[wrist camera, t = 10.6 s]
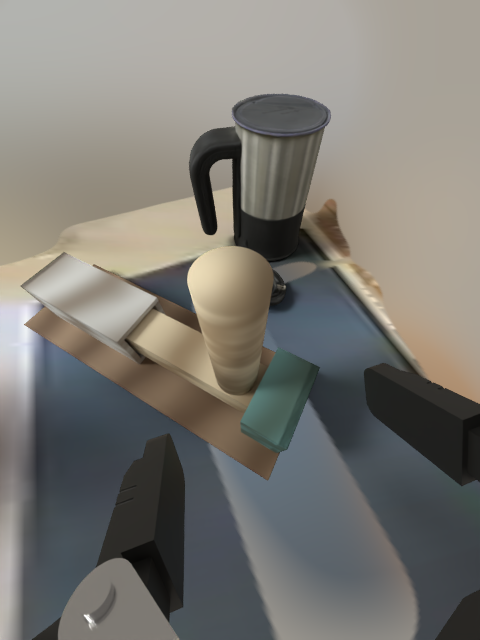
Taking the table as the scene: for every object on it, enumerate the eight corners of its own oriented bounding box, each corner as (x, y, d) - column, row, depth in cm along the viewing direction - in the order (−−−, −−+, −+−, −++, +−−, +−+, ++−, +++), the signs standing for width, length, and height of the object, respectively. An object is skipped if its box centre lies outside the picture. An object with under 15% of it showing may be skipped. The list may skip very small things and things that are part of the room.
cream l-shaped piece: (110, 336, 24) (-32, 197, 12) (133, 311, 26) (29, 164, 13) (273, 430, 20) (327, 367, 7) (289, 393, 21) (358, 287, 9)
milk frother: (278, 212, 38) (296, 85, 25) (342, 281, 31) (412, 151, 18) (193, 240, 35) (165, 111, 22) (242, 325, 28) (241, 205, 15)
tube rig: (34, 331, 27) (-24, 293, 21) (100, 272, 32) (67, 227, 26) (266, 479, 20) (276, 485, 14) (309, 375, 24) (331, 346, 18)
